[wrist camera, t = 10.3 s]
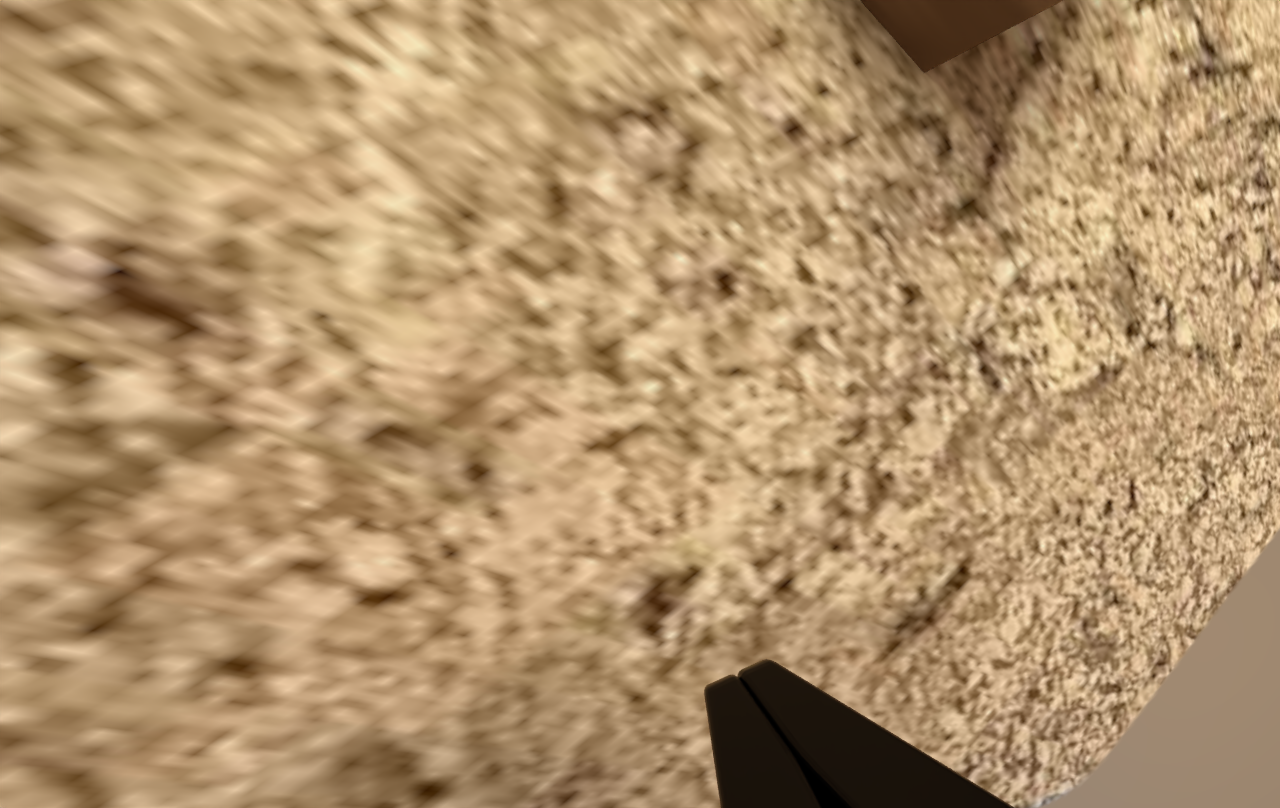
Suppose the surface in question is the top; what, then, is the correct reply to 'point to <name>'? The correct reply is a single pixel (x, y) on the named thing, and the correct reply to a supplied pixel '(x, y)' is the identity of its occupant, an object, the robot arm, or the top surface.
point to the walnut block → (949, 24)
